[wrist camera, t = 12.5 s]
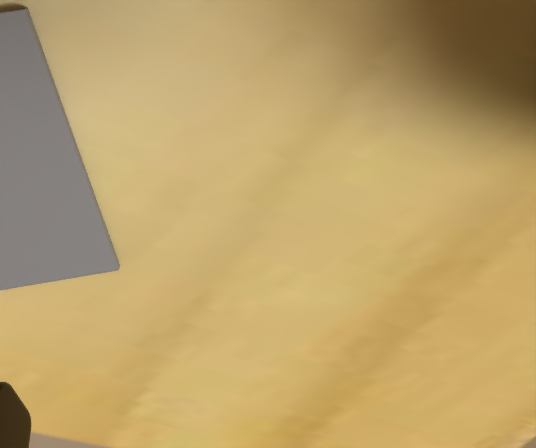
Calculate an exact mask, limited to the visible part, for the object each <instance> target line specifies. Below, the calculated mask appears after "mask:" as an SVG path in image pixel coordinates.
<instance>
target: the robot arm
mask: <svg viewBox="0 0 536 448" xmlns="http://www.w3.org/2000/svg"><path fill="white" fill-rule="evenodd" d="M30 433H31V417H30V414H29V412H28V410H27V408H26V407H25V405H24V404H23V403H22V401H21V400H20V398H19V397H18V395H17V394H16V392H15V391H14V389H13V388H12V386H11V385H10V384H8V383H6V382H0V448H29V441H30Z"/></svg>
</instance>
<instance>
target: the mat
mask: <svg viewBox="0 0 536 448" xmlns="http://www.w3.org/2000/svg"><path fill="white" fill-rule="evenodd" d="M119 266H120V264H119V261H118V259H117V256H116V253H115V250H114V248H113V245H112V242H111V239H110V236H109V234H108V231H107V228H106V225H105V222H104V220H103V217H102V214H101V211H100V209H99V206H98V203H97V200H96V197H95V195H94V192H93V189H92V186H91V183H90V181H89V178H88V175H87V172H86V170H85V167H84V164H83V161H82V158H81V156H80V153H79V150H78V147H77V144H76V142H75V139H74V136H73V133H72V131H71V128H70V125H69V122H68V119H67V117H66V114H65V111H64V108H63V105H62V103H61V100H60V97H59V94H58V92H57V89H56V86H55V83H54V80H53V78H52V75H51V72H50V69H49V66H48V64H47V61H46V58H45V55H44V53H43V50H42V47H41V44H40V41H39V39H38V36H37V33H36V30H35V27H34V25H33V22H32V19H31V16H30V14H29V11H28V8H25V9H18V10H11V11H4V12H0V290H5V289H11V288H17V287H23V286H29V285H34V284H40V283H46V282H52V281H58V280H64V279H70V278H76V277H82V276H87V275H93V274H99V273H105V272H111V271H117V270H119Z"/></svg>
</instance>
